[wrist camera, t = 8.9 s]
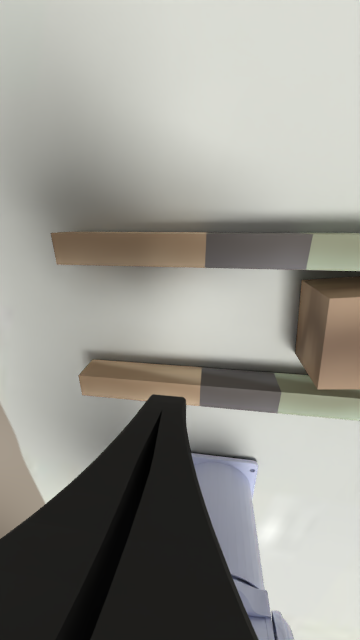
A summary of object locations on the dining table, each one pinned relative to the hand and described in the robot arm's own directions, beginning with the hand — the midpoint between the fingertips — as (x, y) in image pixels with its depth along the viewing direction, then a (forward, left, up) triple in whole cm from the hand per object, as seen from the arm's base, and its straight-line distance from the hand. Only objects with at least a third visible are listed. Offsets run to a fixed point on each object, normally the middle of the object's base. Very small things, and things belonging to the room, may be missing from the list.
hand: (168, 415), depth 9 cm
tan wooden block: (+1, -11, -11) cm, 15 cm away
